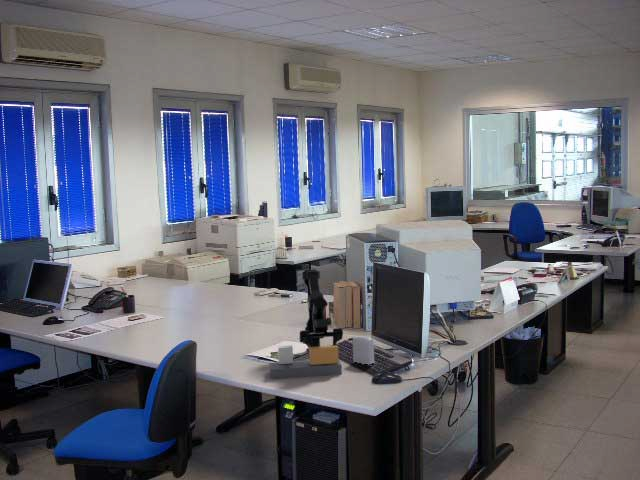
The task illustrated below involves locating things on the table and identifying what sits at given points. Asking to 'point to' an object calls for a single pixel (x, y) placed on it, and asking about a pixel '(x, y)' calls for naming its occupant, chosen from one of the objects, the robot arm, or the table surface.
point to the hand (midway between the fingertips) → (323, 352)
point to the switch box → (303, 369)
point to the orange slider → (323, 355)
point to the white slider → (285, 354)
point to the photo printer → (363, 350)
